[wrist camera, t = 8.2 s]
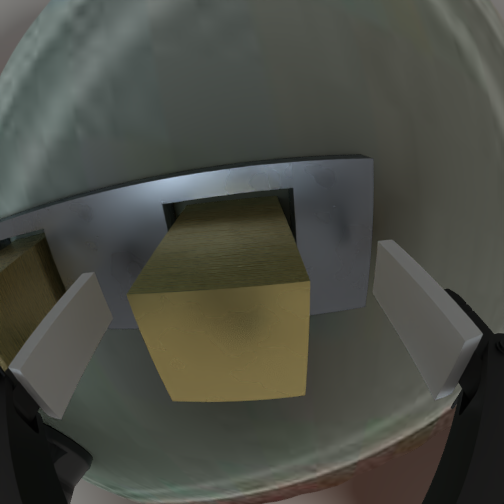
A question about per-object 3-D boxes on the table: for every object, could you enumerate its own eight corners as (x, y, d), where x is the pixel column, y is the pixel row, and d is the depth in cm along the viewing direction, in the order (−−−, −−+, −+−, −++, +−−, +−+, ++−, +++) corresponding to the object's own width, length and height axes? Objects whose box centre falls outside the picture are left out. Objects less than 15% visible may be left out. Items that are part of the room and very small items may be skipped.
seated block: (36, 294, 18) (-22, 364, 10) (15, 240, 16) (-59, 300, 8) (77, 292, 18) (15, 377, 10) (54, 230, 16) (-32, 301, 8)
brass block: (201, 281, 17) (172, 400, 9) (187, 205, 15) (126, 294, 7) (281, 275, 17) (305, 395, 9) (276, 195, 15) (310, 281, 7)
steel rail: (15, 313, 19) (6, 324, 17) (-20, 227, 15) (-33, 235, 14) (356, 291, 18) (365, 306, 16) (360, 154, 14) (373, 158, 13)
